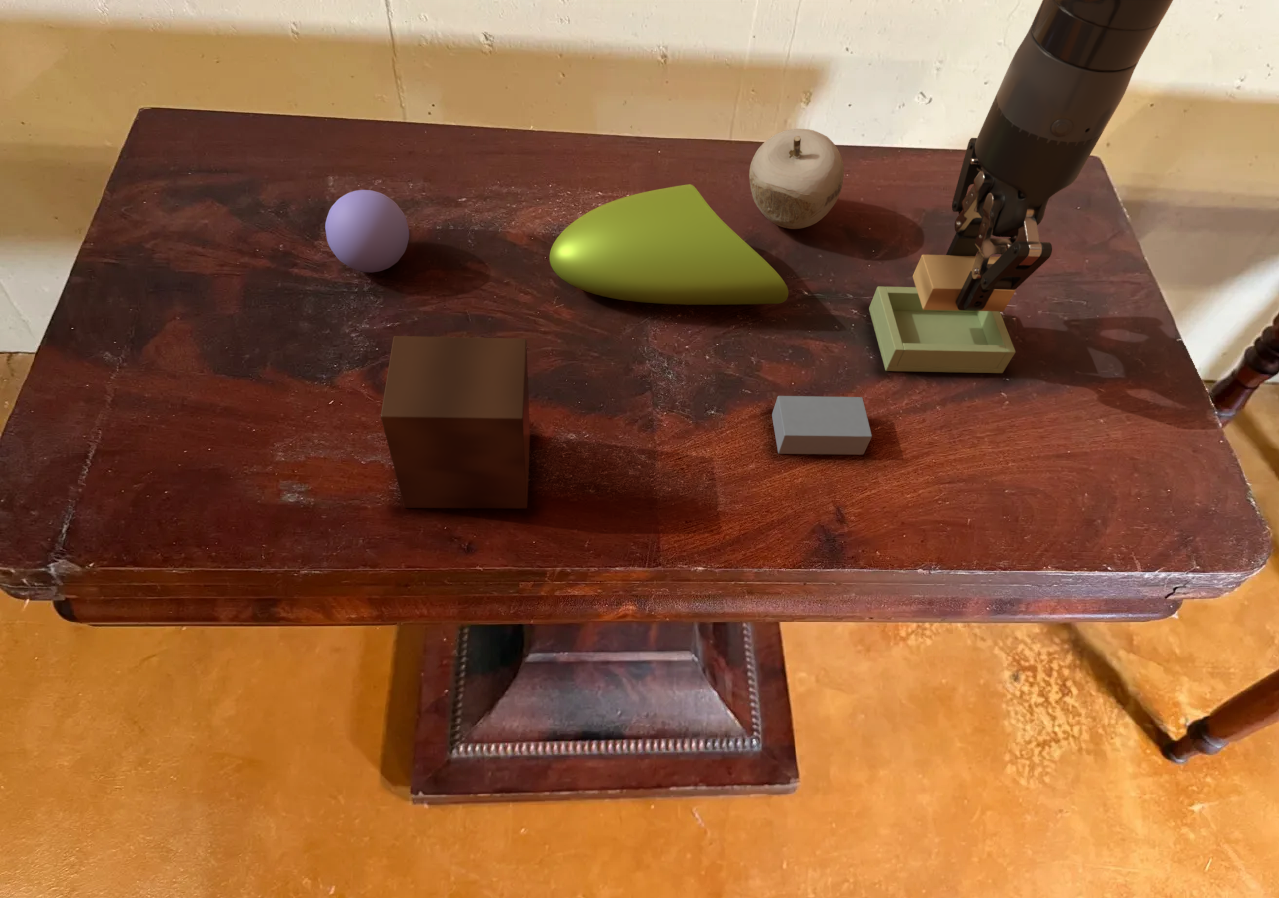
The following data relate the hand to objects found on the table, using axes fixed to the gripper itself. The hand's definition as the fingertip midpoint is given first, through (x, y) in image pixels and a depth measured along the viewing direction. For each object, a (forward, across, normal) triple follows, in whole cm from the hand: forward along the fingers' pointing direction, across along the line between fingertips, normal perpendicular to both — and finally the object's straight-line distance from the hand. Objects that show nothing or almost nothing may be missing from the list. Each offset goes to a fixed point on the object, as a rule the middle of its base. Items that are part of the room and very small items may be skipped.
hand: (960, 287), depth 74 cm
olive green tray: (+6, 0, 0) cm, 6 cm away
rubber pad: (+6, -11, +12) cm, 18 cm away
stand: (+6, -15, +40) cm, 43 cm away
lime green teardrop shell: (+7, +6, +24) cm, 26 cm away
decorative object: (+7, +16, +12) cm, 21 cm away
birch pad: (+1, 0, 0) cm, 1 cm away
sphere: (+7, +8, +50) cm, 51 cm away
